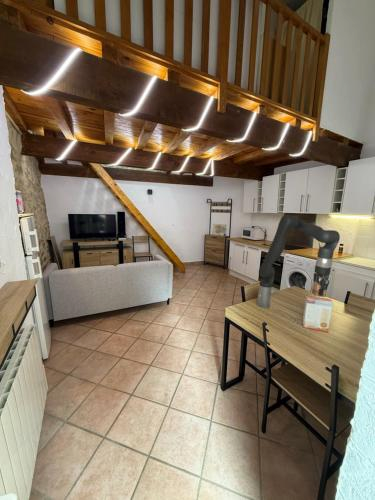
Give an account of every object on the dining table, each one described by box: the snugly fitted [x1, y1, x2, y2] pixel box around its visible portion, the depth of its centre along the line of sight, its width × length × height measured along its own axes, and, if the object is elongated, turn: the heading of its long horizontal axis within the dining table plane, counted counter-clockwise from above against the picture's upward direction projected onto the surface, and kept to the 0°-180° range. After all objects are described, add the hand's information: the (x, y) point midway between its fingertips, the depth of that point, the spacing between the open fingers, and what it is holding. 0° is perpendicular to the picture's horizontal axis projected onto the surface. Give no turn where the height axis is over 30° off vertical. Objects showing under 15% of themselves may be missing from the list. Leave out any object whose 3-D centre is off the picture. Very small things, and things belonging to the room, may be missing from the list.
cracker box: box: [302, 295, 334, 333], centre depth 131 cm, size 14×6×21 cm, turn 68°
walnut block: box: [311, 282, 327, 298], centre depth 117 cm, size 5×5×7 cm
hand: (318, 293), depth 117 cm, fingers closed on walnut block, 5 cm apart
